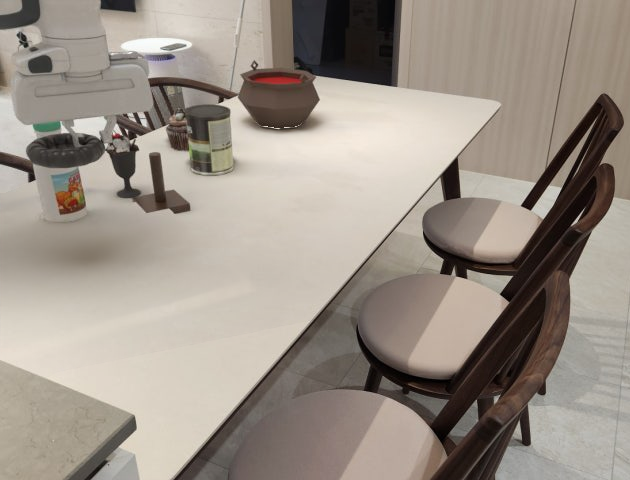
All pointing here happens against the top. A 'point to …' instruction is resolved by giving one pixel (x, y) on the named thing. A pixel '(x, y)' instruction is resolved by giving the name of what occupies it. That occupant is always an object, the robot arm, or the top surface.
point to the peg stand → (160, 192)
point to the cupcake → (178, 130)
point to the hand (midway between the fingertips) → (93, 144)
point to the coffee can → (209, 139)
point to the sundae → (123, 162)
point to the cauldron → (278, 96)
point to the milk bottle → (59, 185)
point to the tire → (64, 151)
